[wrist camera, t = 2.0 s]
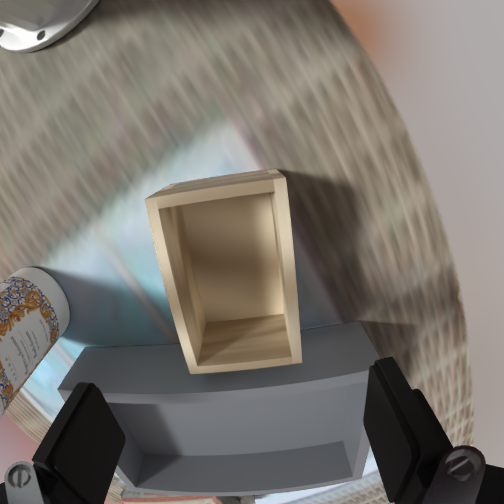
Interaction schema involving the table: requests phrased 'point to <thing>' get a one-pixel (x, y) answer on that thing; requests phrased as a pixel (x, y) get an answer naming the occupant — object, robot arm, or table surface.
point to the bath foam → (28, 326)
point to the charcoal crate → (236, 416)
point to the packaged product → (177, 498)
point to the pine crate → (229, 270)
